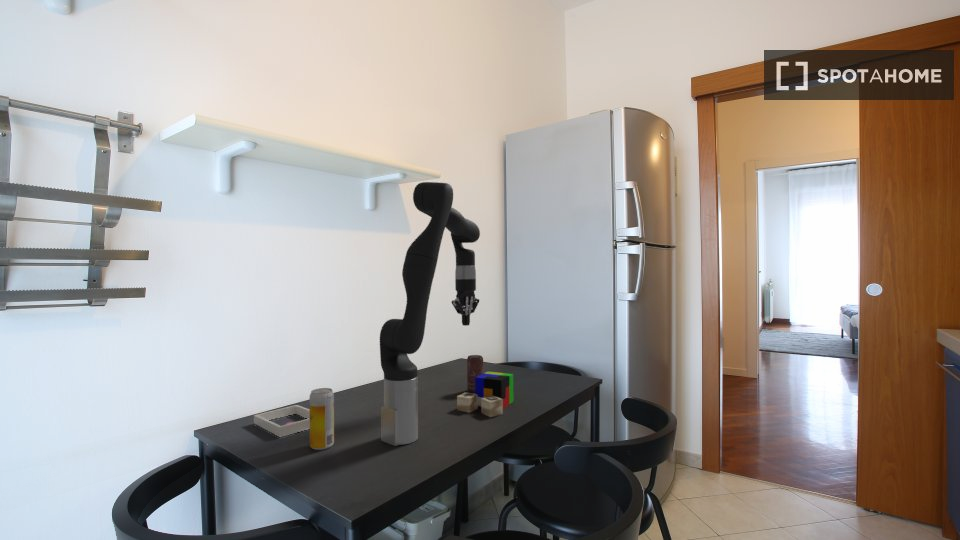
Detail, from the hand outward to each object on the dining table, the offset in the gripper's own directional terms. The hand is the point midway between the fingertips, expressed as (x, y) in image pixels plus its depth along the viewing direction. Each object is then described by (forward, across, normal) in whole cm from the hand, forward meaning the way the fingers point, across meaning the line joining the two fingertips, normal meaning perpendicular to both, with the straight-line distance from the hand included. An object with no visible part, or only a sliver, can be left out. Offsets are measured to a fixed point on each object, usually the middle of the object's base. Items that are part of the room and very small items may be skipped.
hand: (466, 325), depth 162 cm
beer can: (+27, -58, -2) cm, 64 cm away
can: (+27, +8, +3) cm, 28 cm away
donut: (+27, -57, +14) cm, 65 cm away
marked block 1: (+27, -10, -10) cm, 30 cm away
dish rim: (+27, -57, +20) cm, 66 cm away
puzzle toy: (+27, +2, -12) cm, 30 cm away
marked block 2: (+27, -7, -18) cm, 33 cm away
